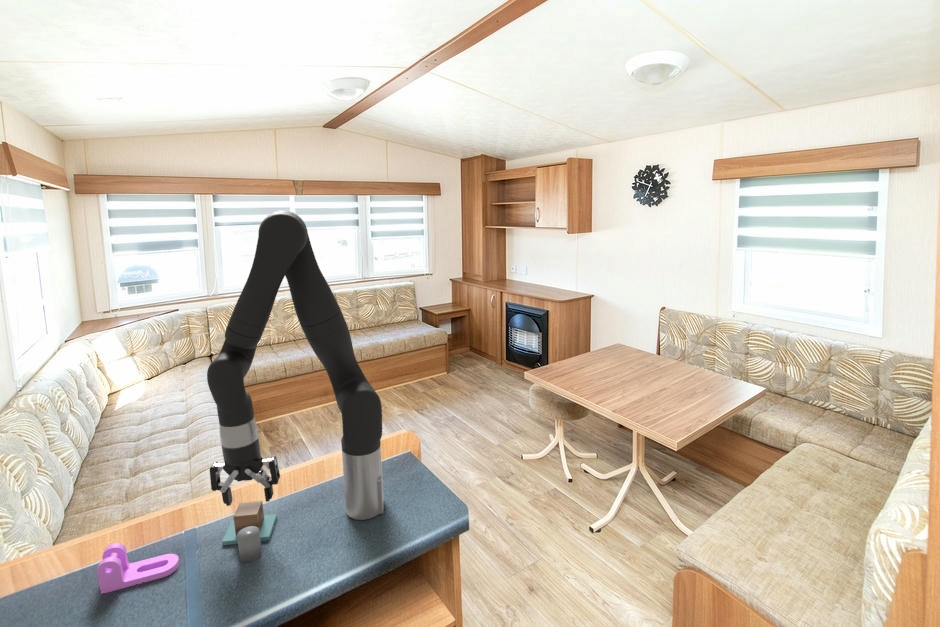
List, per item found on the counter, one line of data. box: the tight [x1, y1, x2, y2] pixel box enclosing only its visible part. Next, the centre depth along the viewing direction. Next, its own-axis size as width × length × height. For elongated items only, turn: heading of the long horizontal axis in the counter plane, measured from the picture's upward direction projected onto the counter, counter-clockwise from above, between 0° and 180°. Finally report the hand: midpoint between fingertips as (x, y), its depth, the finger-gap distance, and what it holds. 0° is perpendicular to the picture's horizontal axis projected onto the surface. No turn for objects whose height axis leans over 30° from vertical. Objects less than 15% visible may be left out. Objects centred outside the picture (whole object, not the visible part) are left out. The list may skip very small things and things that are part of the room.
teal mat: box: [221, 513, 278, 546], centre depth 112 cm, size 10×8×1 cm
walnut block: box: [233, 500, 265, 536], centre depth 112 cm, size 5×5×5 cm
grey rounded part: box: [237, 526, 263, 563], centre depth 105 cm, size 4×4×6 cm
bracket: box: [96, 542, 180, 595], centre depth 99 cm, size 13×6×7 cm, turn 114°
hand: (249, 501), depth 111 cm, fingers open, 8 cm apart
